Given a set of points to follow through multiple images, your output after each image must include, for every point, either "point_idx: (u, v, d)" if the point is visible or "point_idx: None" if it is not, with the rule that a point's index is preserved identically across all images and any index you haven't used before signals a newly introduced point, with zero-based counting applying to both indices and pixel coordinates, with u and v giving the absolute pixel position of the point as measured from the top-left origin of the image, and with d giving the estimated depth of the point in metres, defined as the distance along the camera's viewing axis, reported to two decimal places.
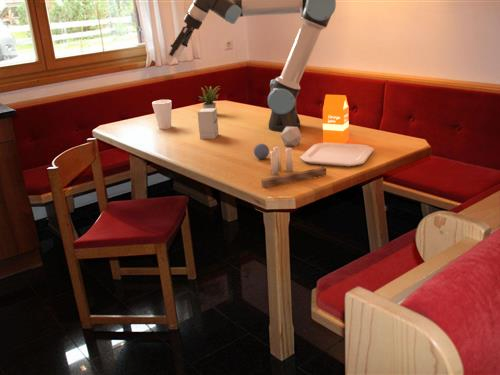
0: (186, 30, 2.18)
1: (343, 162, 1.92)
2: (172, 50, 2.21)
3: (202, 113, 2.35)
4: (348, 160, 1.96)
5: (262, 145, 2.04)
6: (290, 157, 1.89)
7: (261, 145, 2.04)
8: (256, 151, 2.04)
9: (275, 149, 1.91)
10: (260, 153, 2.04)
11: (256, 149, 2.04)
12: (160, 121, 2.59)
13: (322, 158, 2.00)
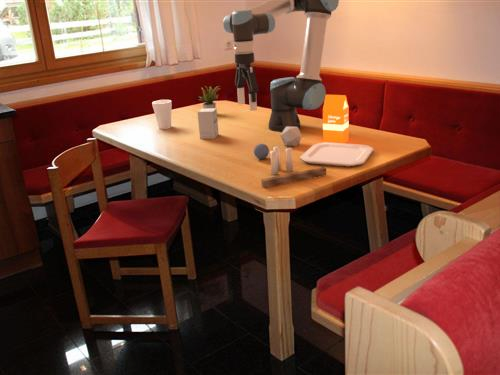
0: (252, 68, 1.98)
1: (343, 162, 1.92)
2: (253, 96, 2.00)
3: (202, 113, 2.35)
4: (348, 160, 1.96)
5: (262, 145, 2.04)
6: (290, 157, 1.89)
7: (261, 145, 2.04)
8: (256, 151, 2.04)
9: (275, 149, 1.91)
10: (260, 153, 2.04)
11: (256, 149, 2.04)
12: (160, 121, 2.59)
13: (322, 158, 2.00)
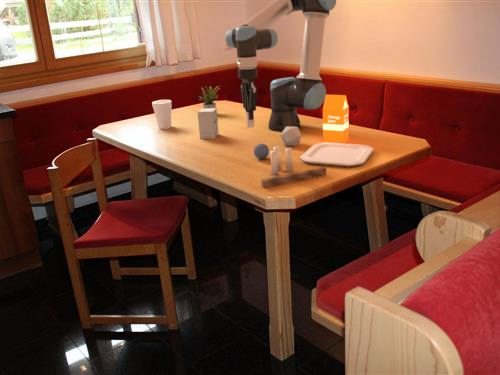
0: (255, 90, 2.01)
1: (343, 162, 1.92)
2: (250, 114, 2.08)
3: (202, 113, 2.35)
4: (348, 160, 1.96)
5: (262, 145, 2.04)
6: (290, 157, 1.89)
7: (261, 145, 2.04)
8: (256, 151, 2.04)
9: (275, 149, 1.91)
10: (260, 153, 2.04)
11: (256, 149, 2.04)
12: (160, 121, 2.59)
13: (322, 158, 2.00)
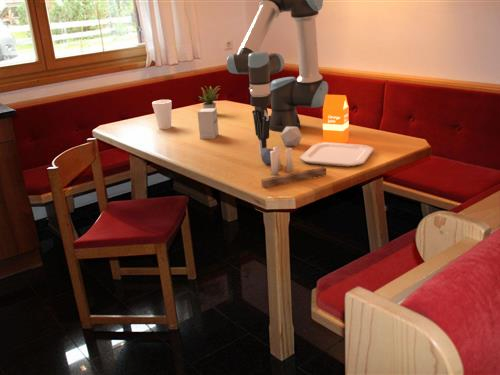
0: (268, 118, 1.93)
1: (343, 162, 1.92)
2: (263, 142, 2.00)
3: (202, 113, 2.35)
4: (348, 160, 1.96)
5: None
6: (290, 157, 1.89)
7: None
8: (262, 160, 2.00)
9: (275, 149, 1.91)
10: None
11: (263, 161, 1.99)
12: (160, 121, 2.59)
13: (322, 158, 2.00)
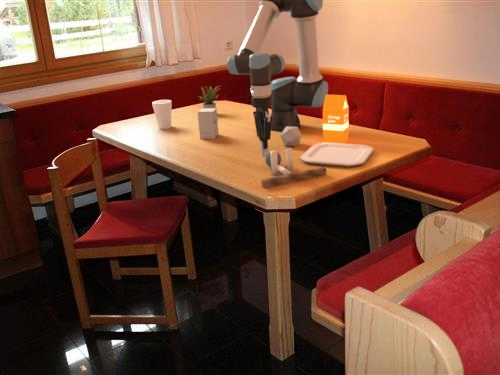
0: (270, 119, 1.93)
1: (343, 162, 1.92)
2: (265, 143, 2.00)
3: (202, 113, 2.35)
4: (348, 160, 1.96)
5: None
6: (290, 157, 1.89)
7: None
8: (265, 159, 1.96)
9: None
10: None
11: None
12: (160, 121, 2.59)
13: (322, 158, 2.00)
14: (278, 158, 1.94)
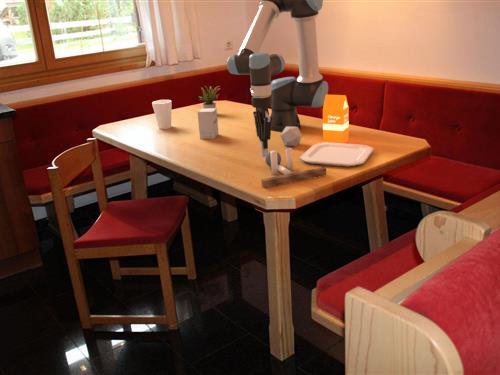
0: (270, 119, 1.93)
1: (343, 162, 1.92)
2: (265, 143, 2.00)
3: (202, 113, 2.35)
4: (348, 160, 1.96)
5: None
6: (290, 157, 1.89)
7: None
8: (265, 159, 1.96)
9: None
10: None
11: None
12: (160, 121, 2.59)
13: (322, 158, 2.00)
14: (278, 158, 1.94)
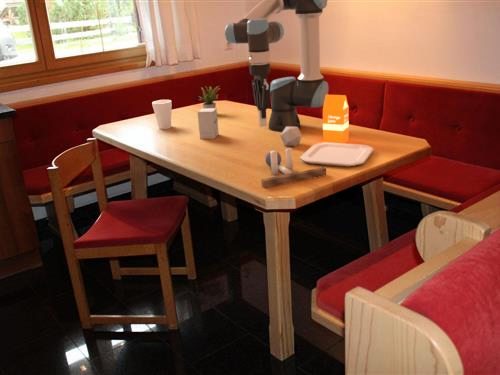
0: (268, 86, 1.89)
1: (343, 162, 1.92)
2: (263, 112, 1.96)
3: (202, 113, 2.35)
4: (348, 160, 1.96)
5: None
6: (290, 157, 1.89)
7: None
8: (265, 159, 1.96)
9: None
10: None
11: None
12: (160, 121, 2.59)
13: (322, 158, 2.00)
14: (278, 158, 1.94)
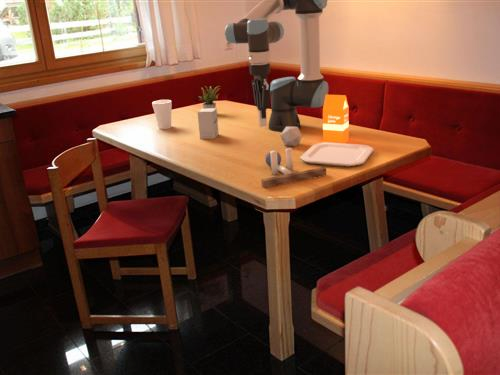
0: (268, 86, 1.89)
1: (343, 162, 1.92)
2: (263, 112, 1.96)
3: (202, 113, 2.35)
4: (348, 160, 1.96)
5: None
6: (290, 157, 1.89)
7: None
8: (265, 159, 1.96)
9: None
10: None
11: None
12: (160, 121, 2.59)
13: (322, 158, 2.00)
14: (278, 158, 1.94)
